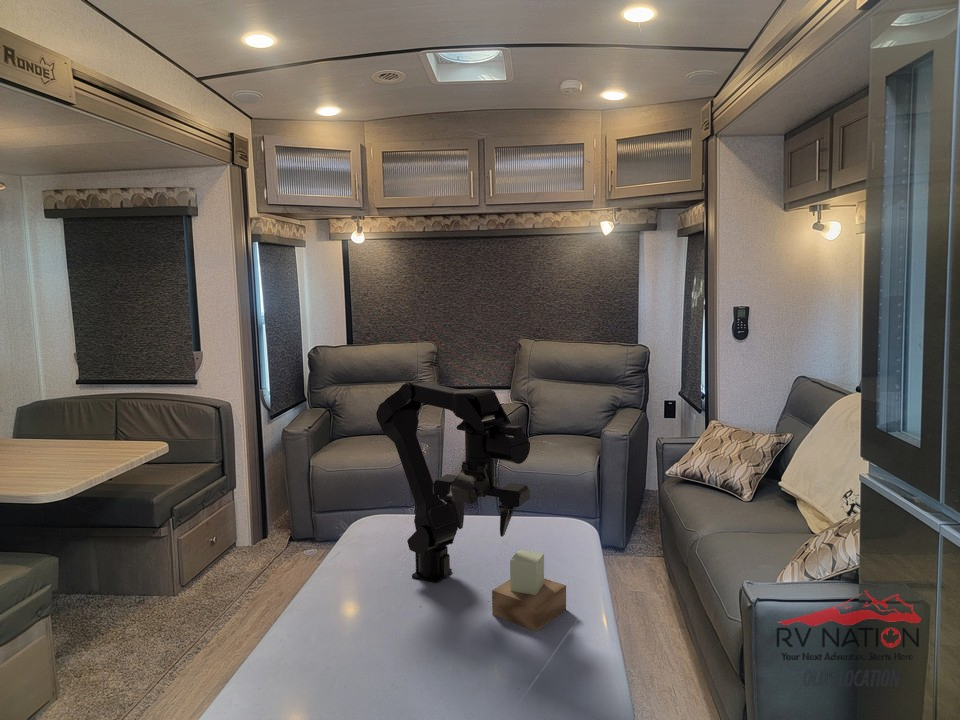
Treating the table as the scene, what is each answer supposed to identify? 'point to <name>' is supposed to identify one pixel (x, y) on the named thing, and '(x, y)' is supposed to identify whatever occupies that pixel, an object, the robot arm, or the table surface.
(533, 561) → the sage block
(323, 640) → the table surface
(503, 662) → the table surface
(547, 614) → the walnut block
